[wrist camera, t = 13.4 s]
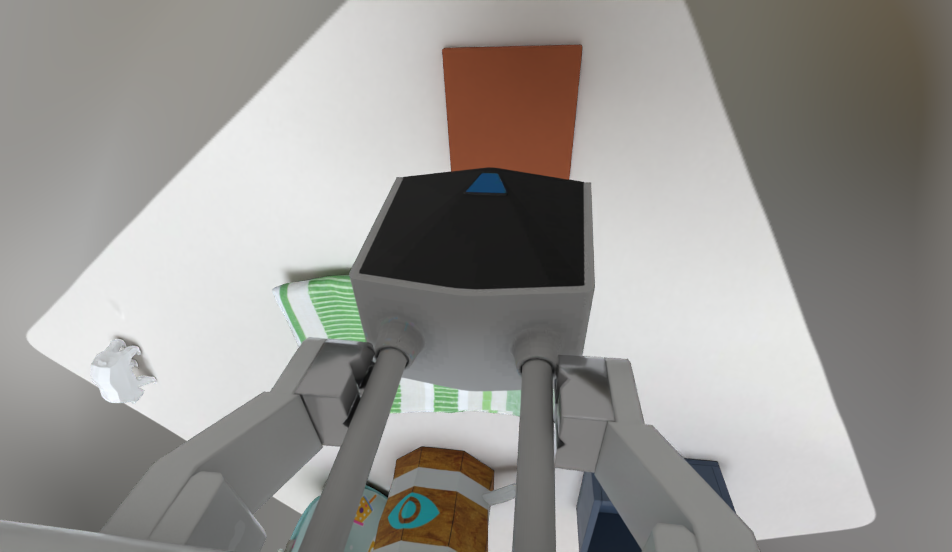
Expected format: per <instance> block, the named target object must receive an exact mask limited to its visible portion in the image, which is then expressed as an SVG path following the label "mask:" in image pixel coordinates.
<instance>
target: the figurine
mask: <svg viewBox="0 0 952 552" xmlns="http://www.w3.org/2000/svg"><path fill="white" fill-rule="evenodd" d="M121 347H122V348H125V349H124V350H122V351H119V350H120V348H121ZM135 354H137V355H138V354H139V355H140V354H141V351H140V349H139V347H138V346H133V345H131V346H129V347H126V344H125V342H124V341H123V340H121V339H116V340H112V341H111V343H110V345H109V346H108V347H107V348H106V349H105V350H104V351H103V352H101V353H99V354H97V356H96V357H95V359H94V360H93V362H92V364H91V380H92V381H93V382H94V383H95V384H96V385H97V386H98V387H99V388H100V392H101V396H102V397H103V398H104V399H105V400H107V401H109V402H110V403H124V402H132V404H135V403H136V401H138V400H139V398H140V397H141V396H142V395H143V393H144V391H145V390H143V389H141V388H139V387H140V386H143V385H146V384H149V383H154V384H156V383H157V381H156V378H155V377H152V376H143V375H142V376H139V377H136V376H135V375H134V373H133V371H132V367H133V366H134V367H136V368H138V367H139V366H138V363H137V361H136V360H133V359H131V358H132V357H133V356H134V355H135Z"/></svg>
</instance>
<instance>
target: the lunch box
mask: <svg viewBox="0 0 952 552" xmlns="http://www.w3.org/2000/svg"><path fill="white" fill-rule="evenodd" d="M320 496H321V495H320ZM320 496H318V497H317V498H315V499H314V500H313V501H312V502H311V503H310V505H309V506H308V507H307V508H306V510H305V511H304V513H303V514H302V516H301V518H300V520H299V521H298V524H297V525H296V527H295V529H294V532H293V534H292V536H291V539H290V540H289V541H288V543H287V546H286V549H285V551H284V550H283V549H278V551H277V552H283V551H284V552H298V550H299V548H300V545H301V543H302V540H303V538H304V535H305V533H306V530H307V528H308V525H309V523H310V520H311V518H312V516H313V513H314V511H315V508H316V506H317V503H318V501H319V499H320ZM387 499H388V498H387V497H386V496H384V495H383V494H381V493H380V492H378V491H377V490H375V489H373V488H371V487H369V486H367V485H365V488H364V491H363V494H362V497H361V500H360V503H359V506H358V510H357V513H356V516H355V519H354V522H353V525H352V528H351V531H350V534H349V537H348V540H347V543H346V546H345V549H344V552H373V549H374V544H375V539H376V534H377V529H378V524H379V521H380V518H381V515H382V513H383V510H384V507H385V505H386V502H387Z"/></svg>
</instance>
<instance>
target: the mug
mask: <svg viewBox="0 0 952 552" xmlns="http://www.w3.org/2000/svg"><path fill="white" fill-rule="evenodd" d="M515 496H516V484H515V483H514V484H511V485H509V486H506V487H503V488H500V489H497V490H494V470H492V469H491V468H489V467H488V466H486V465H485V464H483V463H481V462H480V461H478V460H477V459H475V458H474V457H472V456H471V455H469V454H468V453H466V452H465V451H458V450H449V449H439V448H430V447H420V448H418V449H416V450H415V451H413V452H411V453H409V454H407V455H405V456H403V457H401V458H399V459H397V460H396V466H395V472H394V478H393V482H392V486H391V489H390V493H389V496H388V499H387V502H386V505H385V507H384V510H383V513H382V515H381V518H380V521H379V524H378V529H377V534H376V539H375V544H374V549H373V552H488V523H489V512H490V506H491V505H495V504H499V503H502V502H506V501H508V500H511V499H513V498H515Z"/></svg>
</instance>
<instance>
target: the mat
mask: <svg viewBox="0 0 952 552" xmlns="http://www.w3.org/2000/svg"><path fill="white" fill-rule="evenodd" d="M442 55H443V69H444V82H445V95H446V108H447V121H448V135H449V148H450V161H451V172H452V171H460V170H469V169H478V168H486V167H495V168H501V169H507V170H513V171H519V172H525V173H531V174H538V175H544V176H550V177H556V178H562V179H568V180H569V176H570V166H571V156H572V146H573V136H574V126H575V116H576V106H577V96H578V86H579V76H580V66H581V56H582V45H544V46H502V47H460V48H444V49H442Z"/></svg>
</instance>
